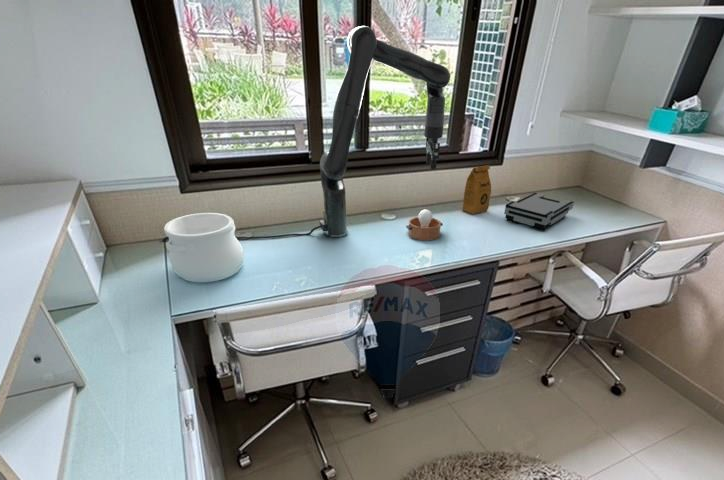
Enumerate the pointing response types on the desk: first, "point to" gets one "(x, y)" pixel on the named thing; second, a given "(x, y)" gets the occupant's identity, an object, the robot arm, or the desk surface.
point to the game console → (537, 211)
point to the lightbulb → (425, 218)
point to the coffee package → (477, 190)
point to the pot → (204, 247)
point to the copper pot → (424, 229)
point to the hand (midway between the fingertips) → (430, 166)
